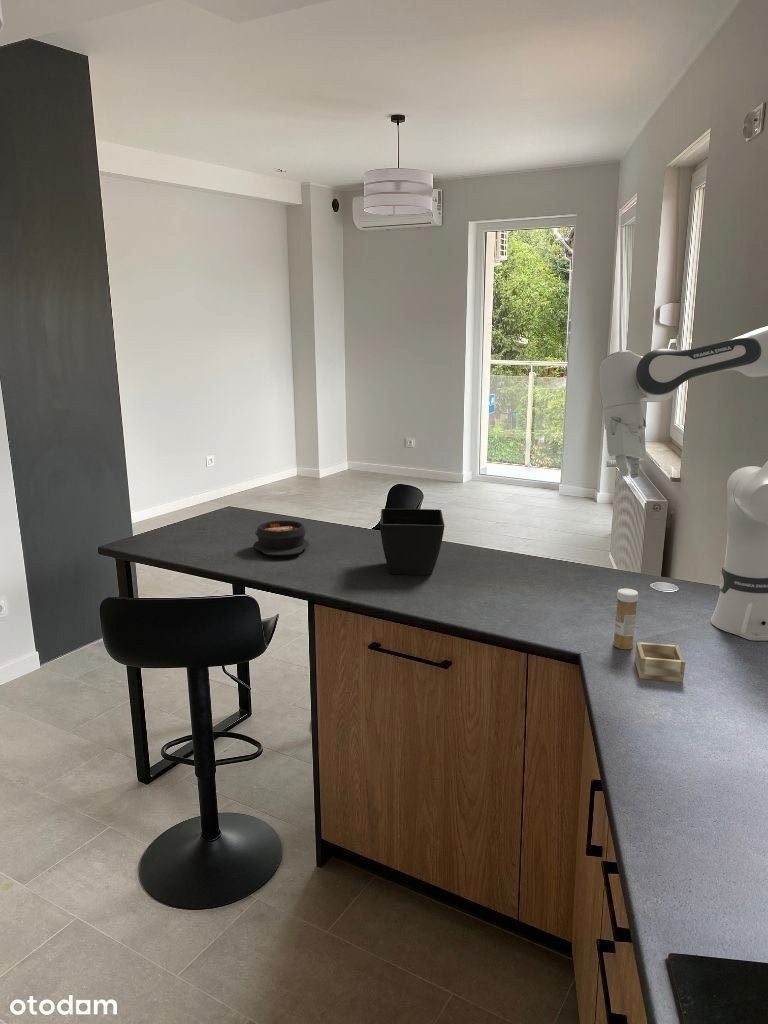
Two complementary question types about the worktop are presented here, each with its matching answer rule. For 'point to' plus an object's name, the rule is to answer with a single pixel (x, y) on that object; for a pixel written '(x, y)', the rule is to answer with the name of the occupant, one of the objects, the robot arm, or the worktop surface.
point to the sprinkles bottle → (625, 618)
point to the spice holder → (659, 662)
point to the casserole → (281, 538)
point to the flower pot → (411, 539)
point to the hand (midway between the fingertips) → (630, 477)
